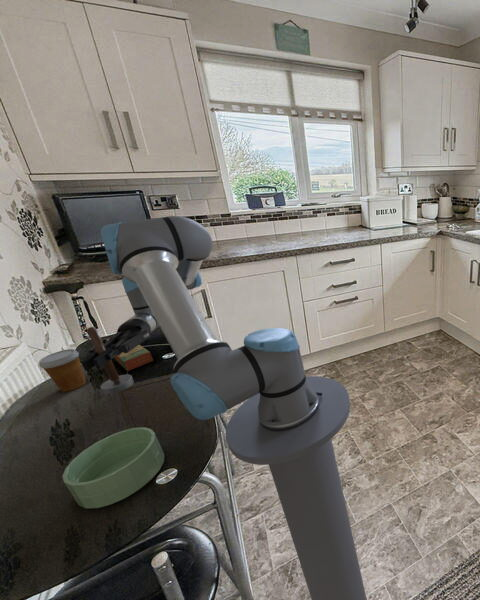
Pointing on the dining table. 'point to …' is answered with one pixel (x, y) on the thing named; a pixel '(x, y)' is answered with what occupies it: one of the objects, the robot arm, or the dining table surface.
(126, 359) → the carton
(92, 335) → the wooden peg on disc
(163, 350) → the dining table surface
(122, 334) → the robot arm
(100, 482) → the bowl
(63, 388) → the disposable coffee cup
